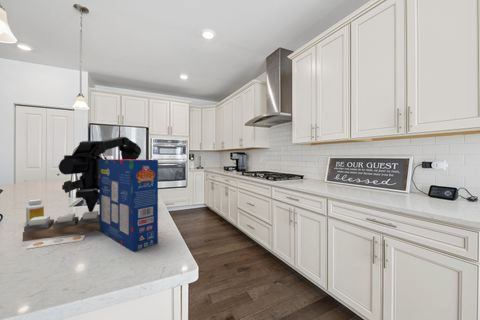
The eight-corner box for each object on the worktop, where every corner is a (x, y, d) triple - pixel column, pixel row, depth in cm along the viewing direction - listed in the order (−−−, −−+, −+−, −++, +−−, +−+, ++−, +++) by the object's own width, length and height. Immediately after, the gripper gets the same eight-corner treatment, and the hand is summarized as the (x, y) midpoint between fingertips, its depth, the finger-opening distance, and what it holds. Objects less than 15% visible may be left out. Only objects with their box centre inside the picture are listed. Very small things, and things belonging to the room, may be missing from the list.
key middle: (75, 218, 79) (75, 213, 79) (72, 221, 76) (72, 216, 76) (60, 220, 77) (60, 214, 77) (57, 223, 73) (57, 217, 73)
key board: (101, 225, 85) (101, 213, 85) (99, 230, 79) (99, 218, 79) (31, 234, 74) (31, 221, 74) (22, 241, 68) (22, 227, 68)
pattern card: (85, 235, 73) (85, 234, 73) (82, 240, 69) (82, 239, 69) (33, 243, 67) (33, 241, 67) (26, 249, 62) (26, 247, 62)
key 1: (50, 221, 76) (50, 215, 76) (45, 224, 72) (45, 218, 72) (34, 223, 74) (34, 217, 74) (28, 226, 70) (28, 220, 70)
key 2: (98, 216, 83) (98, 210, 83) (96, 219, 79) (96, 213, 79) (85, 217, 81) (85, 212, 81) (82, 220, 77) (82, 214, 77)
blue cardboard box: (157, 243, 67) (157, 159, 67) (133, 252, 61) (133, 160, 60) (121, 225, 84) (121, 159, 84) (99, 231, 78) (99, 159, 78)
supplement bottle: (47, 220, 91) (47, 199, 91) (33, 224, 85) (33, 201, 85) (36, 220, 91) (36, 198, 91) (22, 223, 86) (22, 201, 86)
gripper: (70, 171, 84) (71, 208, 84) (56, 175, 68) (56, 221, 68) (102, 170, 90) (103, 205, 90) (96, 174, 73) (96, 216, 73)
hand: (90, 211), depth 80 cm, fingers closed
